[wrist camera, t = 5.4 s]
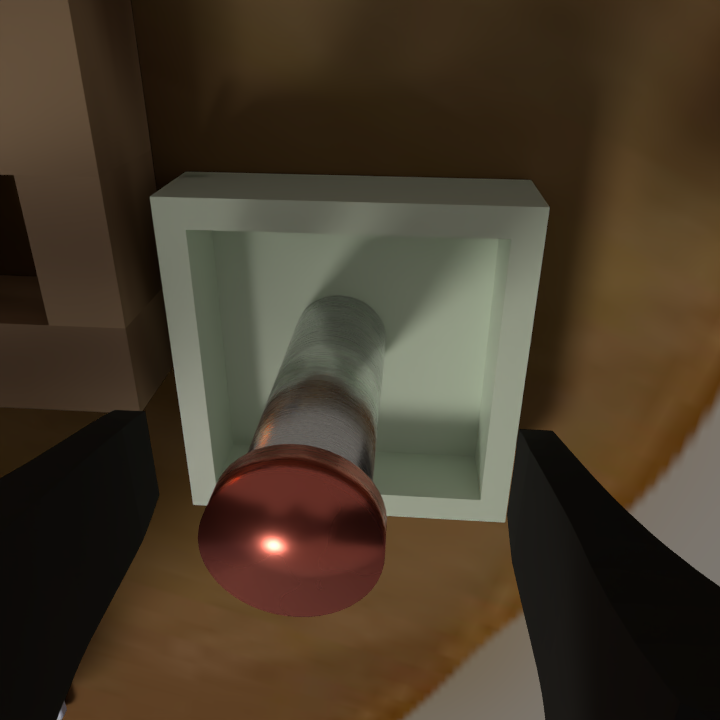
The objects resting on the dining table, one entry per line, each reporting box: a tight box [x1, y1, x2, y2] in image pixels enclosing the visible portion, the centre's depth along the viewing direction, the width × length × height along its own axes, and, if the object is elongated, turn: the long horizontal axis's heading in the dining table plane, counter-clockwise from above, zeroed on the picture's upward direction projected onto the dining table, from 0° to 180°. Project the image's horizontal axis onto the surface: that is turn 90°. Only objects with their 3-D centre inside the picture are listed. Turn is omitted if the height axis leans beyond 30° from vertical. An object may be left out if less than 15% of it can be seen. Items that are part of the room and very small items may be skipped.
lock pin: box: [198, 295, 387, 617], centre depth 14 cm, size 3×3×8 cm
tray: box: [150, 172, 550, 522], centre depth 17 cm, size 8×8×2 cm
